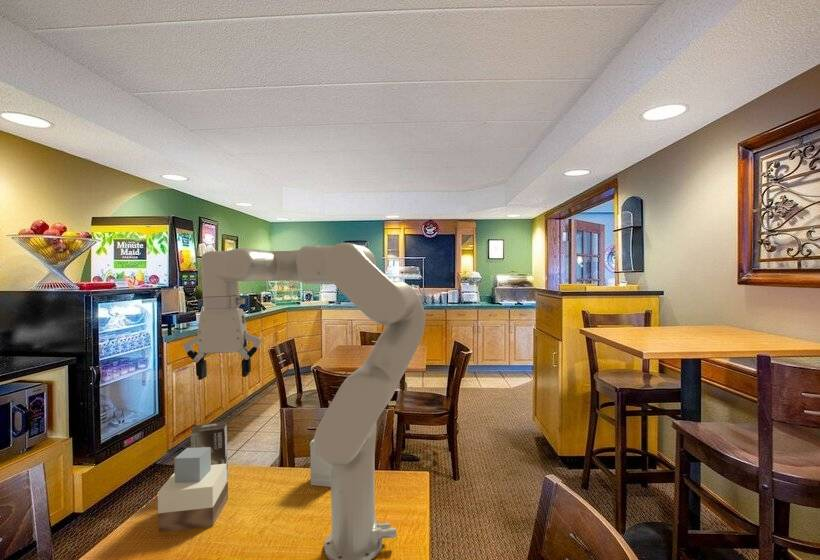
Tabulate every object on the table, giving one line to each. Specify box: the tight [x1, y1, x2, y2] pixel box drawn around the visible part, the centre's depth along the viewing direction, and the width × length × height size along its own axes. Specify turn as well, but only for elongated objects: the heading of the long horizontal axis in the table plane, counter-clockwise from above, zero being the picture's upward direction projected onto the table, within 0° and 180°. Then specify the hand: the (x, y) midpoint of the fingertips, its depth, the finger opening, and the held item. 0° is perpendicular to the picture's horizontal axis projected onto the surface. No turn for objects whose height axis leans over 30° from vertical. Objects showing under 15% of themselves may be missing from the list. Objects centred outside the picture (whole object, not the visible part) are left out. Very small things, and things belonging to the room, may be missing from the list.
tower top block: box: [157, 464, 228, 514], centre depth 99 cm, size 12×12×5 cm
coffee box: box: [190, 421, 229, 480], centre depth 116 cm, size 9×6×16 cm
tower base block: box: [158, 481, 229, 533], centre depth 100 cm, size 12×12×5 cm
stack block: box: [173, 447, 211, 483], centre depth 100 cm, size 6×6×6 cm
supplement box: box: [309, 438, 331, 488], centre depth 115 cm, size 7×7×13 cm
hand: (224, 377), depth 92 cm, fingers open, 9 cm apart
